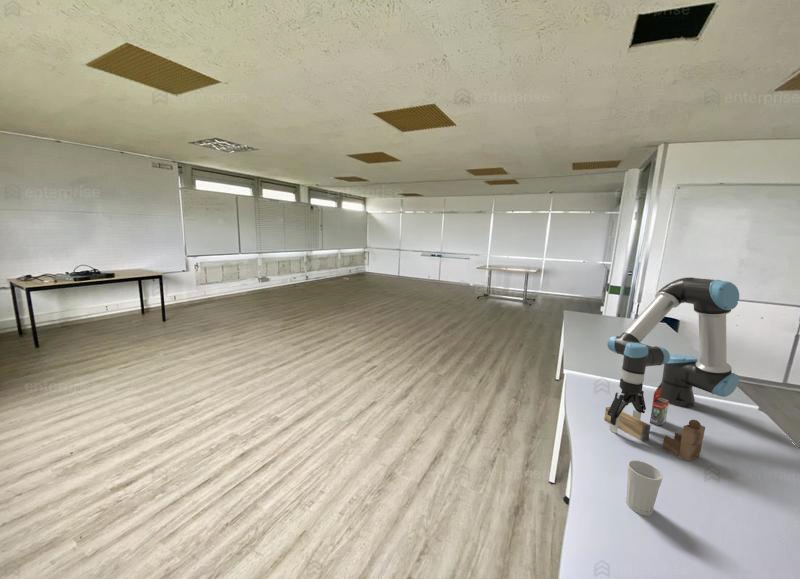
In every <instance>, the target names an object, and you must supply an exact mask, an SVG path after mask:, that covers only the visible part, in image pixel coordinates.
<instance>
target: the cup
mask: <svg viewBox="0 0 800 579" xmlns="http://www.w3.org/2000/svg"><path fill="white" fill-rule="evenodd" d="M663 478H664V477H663V473H662V472H661V471H660V470H659V468H657V467H655V466H654V465H652V464H650V463H648V462H645V461H641V460H636V459H633V460H632V459H631V460H629V461H628V462H627V481H626V482H627V483H626V497H625V499H626V500H625V504H626V505H627V507H628V508H629V509H631V510H632V511H633V512H635V513H637V514H639V515H642V516H645V517H650V516H652V515H653V512H654V508H655V503H656V500H657V497H658V494H659V493H658V492H659V490H660V487H661V483H662V481H663Z"/></svg>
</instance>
